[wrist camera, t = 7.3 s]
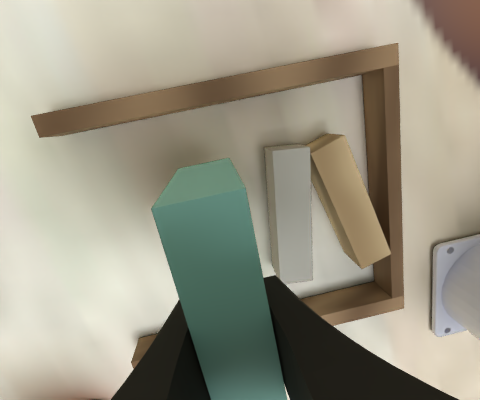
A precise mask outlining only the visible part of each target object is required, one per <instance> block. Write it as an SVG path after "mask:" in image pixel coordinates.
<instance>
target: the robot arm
mask: <svg viewBox="0 0 480 400" xmlns="http://www.w3.org/2000/svg"><path fill="white" fill-rule="evenodd" d="M448 248H449V249H448ZM263 279H264V285H265V290H266V295H267V300H268V305H269V310H270V315H271V320H272V325H273V330H274V335H275V340H276V346H277V351H278V356H279V361H280V366H281V371H282V376H283V381H284V384H285V387H286V390H287V392H288V395H289V398H290V400H459V399H457V398H454V397H452V396H450V395H448V394H446V393H444V392H442V391H440V390H438V389H436V388H434V387H432V386H430V385H428V384H427V383H425V382H423V381H421V380H419V379H417V378H415V377H413V376H412V375H410V374H408V373H406V372H404V371H402V370H400V369H398V368H397V367H395V366H393V365H391V364H390V363H388V362H386V361H385V360H383V359H381V358H380V357H378V356H376V355H375V354H373V353H371V352H370V351H368V350H367V349H365V348H364V347H362V346H360V345H359V344H357V343H356V342H354V341H353V340H351V339H350V338H348V337H347V336H346V335H344V334H343V333H341V332H340V331H339V330H337V329H336V328H335V327H333V326H332V325H331V324H329V323H328V322H327V321H325V320H324V319H323V318H322V317H320V316H319V315H318V314H317V313H315V312H314V311H313V310H312V309H311V308H310V307H308V306H307V305H306V304H305V303H304V302H303V301H302V300H300V299H299V298H298V297H297V296H296V295H295V294H294V293H293V292H292V291H291V290H290V289H289V288H288V287H287V286H286V285H285V284H284V283H283V282H282V281H281V280H280V279H279V278H278V277H277V276H275V275H274V276H270V277H266V278H263ZM466 330H468V331H469V332H470V333H471V334H473V335H474V336H475V337H476V338H478V339H479V340H480V234H478V235H474V236H470V237H465V238H461V239H457V240H453V241H449V242H444V243H440V244H438V245H436V246H435V247H434V250H433V290H432V332H433V333H434V334H435V335H436V336H437V337H442V336H446V335H450V334H454V333H458V332H462V331H466ZM111 400H211V398H210V395H209V392H208V388H207V385H206V382H205V379H204V376H203V372H202V369H201V366H200V363H199V360H198V356H197V353H196V350H195V347H194V344H193V340H192V337H191V334H190V331H189V328H188V324H187V321H186V318H185V315H184V312H183V309H182V305H181V302H180V299H179V301H178V303H177V304H176V306H175V307H174V309H173V311H172V312H171V314H170V315H169V317H168V319H167V320H166V322H165V324H164V325H163V327H162V328H161V330H160V332H159V333H158V335H157V336H156V338H155V339H154V341H153V342H152V344H151V345H150V347H149V348H148V350H147V351H146V353H145V354H144V356H143V357H142V359H141V360H140V361H139V363H138V364H137V366H136V367H135V368H134V370H133V371H132V373H131V374H130V375H129V377H128V378H127V379H126V381H125V382H124V383H123V385H122V386H121V387H120V389H119V390H118V391H117V392H116V394H115V395H114V396H113V397H112V399H111Z"/></svg>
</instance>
